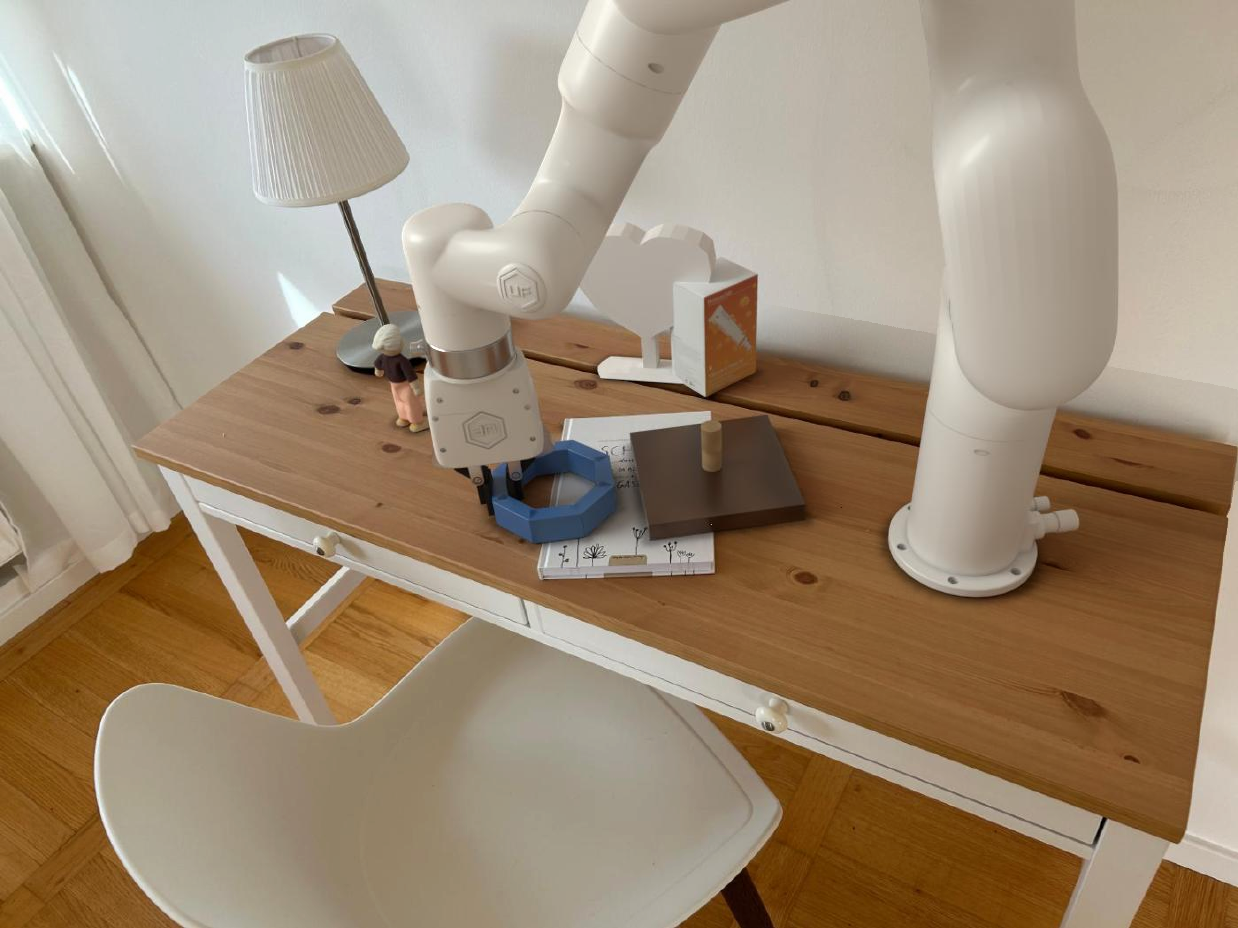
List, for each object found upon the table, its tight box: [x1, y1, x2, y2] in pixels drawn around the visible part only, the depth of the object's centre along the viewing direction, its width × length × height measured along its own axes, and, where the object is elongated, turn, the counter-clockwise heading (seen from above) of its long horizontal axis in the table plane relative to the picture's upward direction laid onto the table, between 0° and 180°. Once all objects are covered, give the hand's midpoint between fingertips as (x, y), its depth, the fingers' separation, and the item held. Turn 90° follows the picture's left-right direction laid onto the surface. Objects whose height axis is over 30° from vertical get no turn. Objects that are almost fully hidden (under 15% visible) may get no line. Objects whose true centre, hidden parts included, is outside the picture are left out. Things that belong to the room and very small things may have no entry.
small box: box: [669, 256, 759, 398], centre depth 103 cm, size 8×6×13 cm
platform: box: [629, 414, 807, 542], centre depth 90 cm, size 15×15×7 cm
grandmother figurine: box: [371, 323, 430, 433], centre depth 101 cm, size 8×4×13 cm, turn 62°
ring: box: [491, 439, 618, 545], centre depth 90 cm, size 12×12×3 cm
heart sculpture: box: [578, 222, 717, 385], centre depth 103 cm, size 16×5×18 cm, turn 76°
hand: (504, 504), depth 91 cm, fingers closed on ring
